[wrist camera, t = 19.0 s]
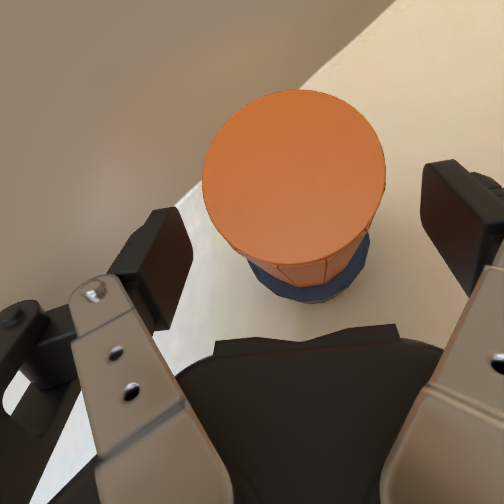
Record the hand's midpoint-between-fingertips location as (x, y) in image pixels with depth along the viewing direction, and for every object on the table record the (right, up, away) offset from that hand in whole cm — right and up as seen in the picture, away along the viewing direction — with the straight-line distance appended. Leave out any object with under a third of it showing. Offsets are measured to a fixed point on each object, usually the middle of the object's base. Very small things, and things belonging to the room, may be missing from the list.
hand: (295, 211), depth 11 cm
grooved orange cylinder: (+1, -1, +7) cm, 7 cm away
